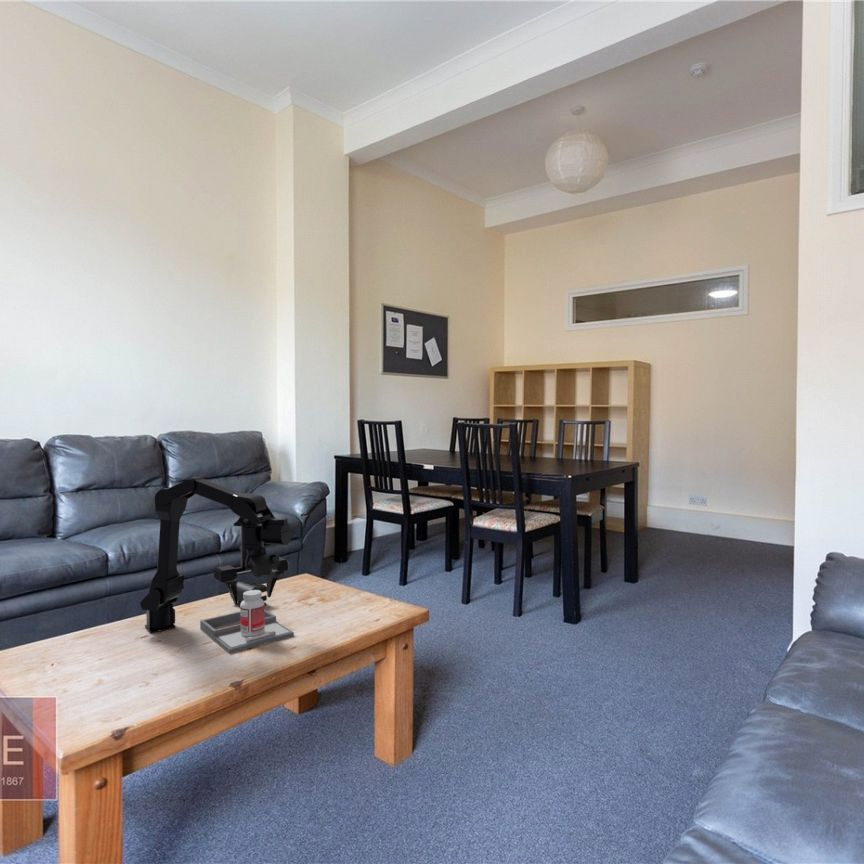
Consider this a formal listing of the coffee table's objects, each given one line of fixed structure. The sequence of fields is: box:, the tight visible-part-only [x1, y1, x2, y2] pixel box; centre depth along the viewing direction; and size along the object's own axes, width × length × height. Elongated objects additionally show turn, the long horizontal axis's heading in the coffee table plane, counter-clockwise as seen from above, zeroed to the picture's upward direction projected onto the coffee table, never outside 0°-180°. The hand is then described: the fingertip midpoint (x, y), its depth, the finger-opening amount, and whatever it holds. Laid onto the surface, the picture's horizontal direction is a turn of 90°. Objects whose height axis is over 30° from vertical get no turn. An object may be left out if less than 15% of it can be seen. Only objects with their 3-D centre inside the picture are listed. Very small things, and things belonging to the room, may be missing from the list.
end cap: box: [229, 580, 268, 606], centre depth 179 cm, size 10×7×7 cm
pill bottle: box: [239, 590, 265, 637], centre depth 152 cm, size 6×6×11 cm
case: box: [199, 608, 277, 641], centre depth 160 cm, size 18×11×3 cm, turn 131°
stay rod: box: [245, 631, 276, 642], centre depth 148 cm, size 8×1×1 cm, turn 131°
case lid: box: [213, 620, 295, 654], centre depth 151 cm, size 18×11×1 cm, turn 131°
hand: (252, 600), depth 152 cm, fingers open, 9 cm apart
